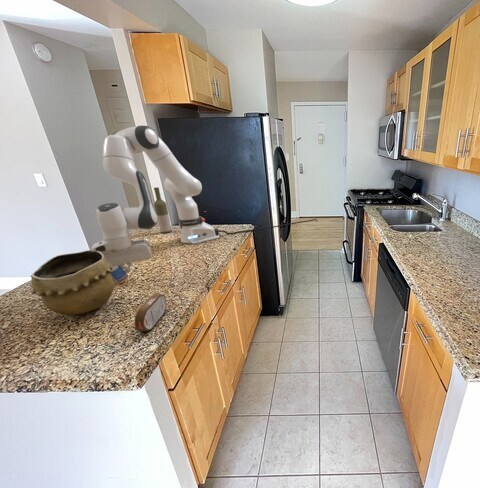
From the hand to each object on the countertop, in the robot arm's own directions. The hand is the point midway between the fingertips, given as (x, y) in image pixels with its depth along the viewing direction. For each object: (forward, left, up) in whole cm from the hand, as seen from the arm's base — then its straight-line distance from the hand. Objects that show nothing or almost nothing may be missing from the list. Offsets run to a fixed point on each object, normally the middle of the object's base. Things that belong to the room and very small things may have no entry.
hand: (127, 271), depth 114 cm
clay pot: (+12, +18, -4) cm, 22 cm away
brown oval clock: (-8, +40, -4) cm, 41 cm away
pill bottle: (+3, 0, -3) cm, 4 cm away
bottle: (-19, -67, -4) cm, 69 cm away
